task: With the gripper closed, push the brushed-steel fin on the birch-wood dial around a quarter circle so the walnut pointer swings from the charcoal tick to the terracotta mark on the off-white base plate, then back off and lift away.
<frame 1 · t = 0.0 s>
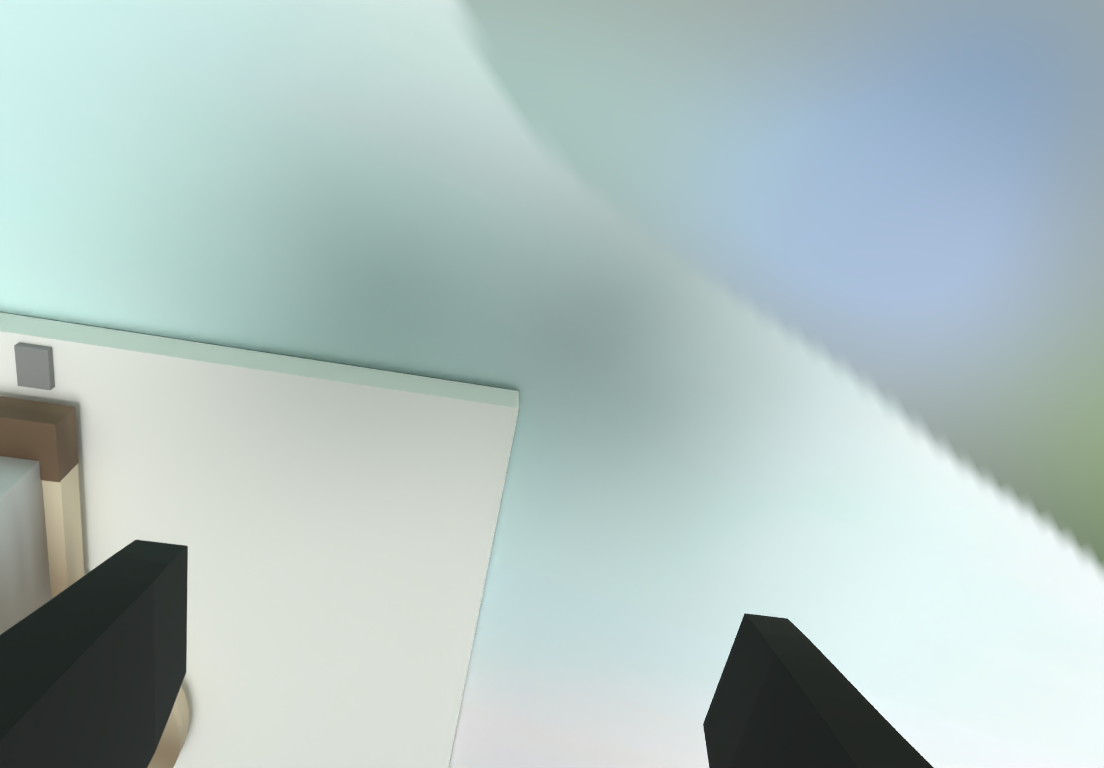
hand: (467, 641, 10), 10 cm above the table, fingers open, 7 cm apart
dial base: (80, 671, 23), on the table
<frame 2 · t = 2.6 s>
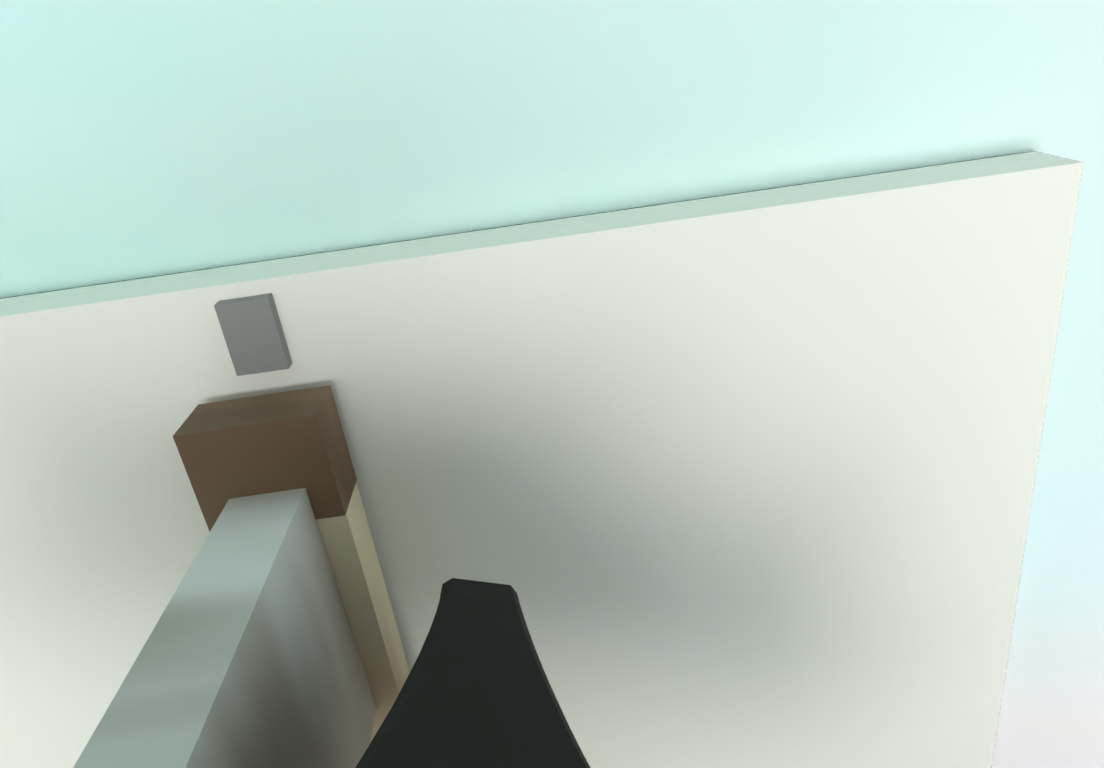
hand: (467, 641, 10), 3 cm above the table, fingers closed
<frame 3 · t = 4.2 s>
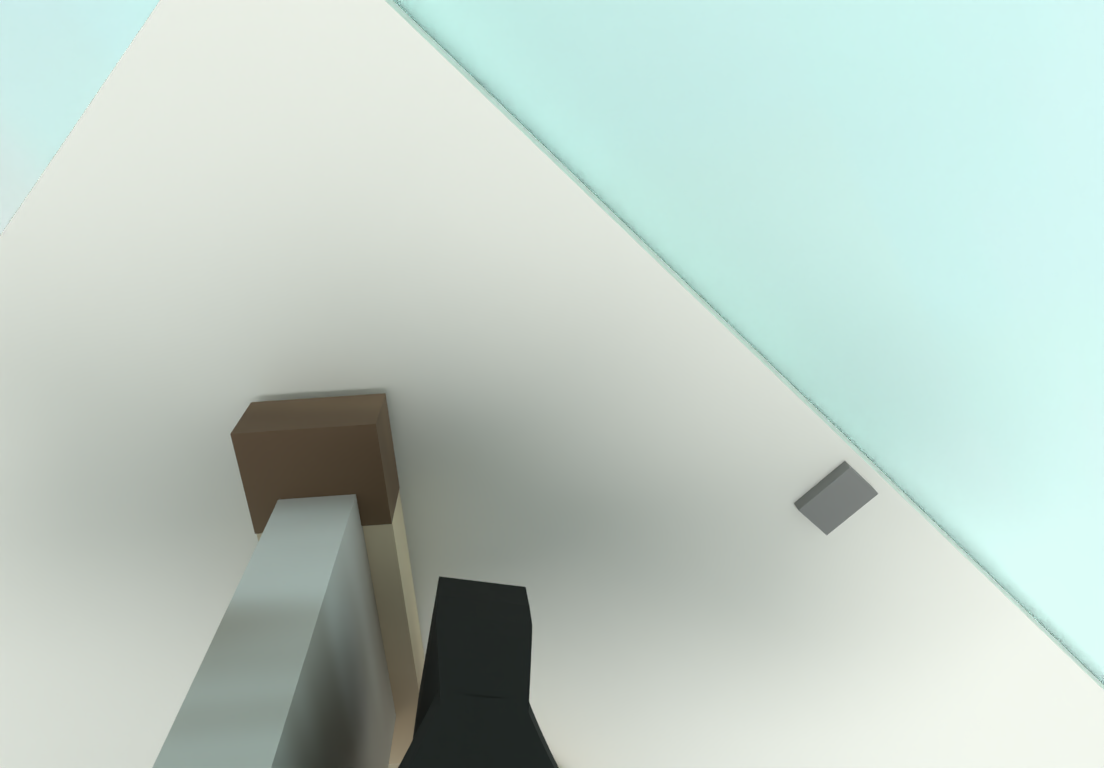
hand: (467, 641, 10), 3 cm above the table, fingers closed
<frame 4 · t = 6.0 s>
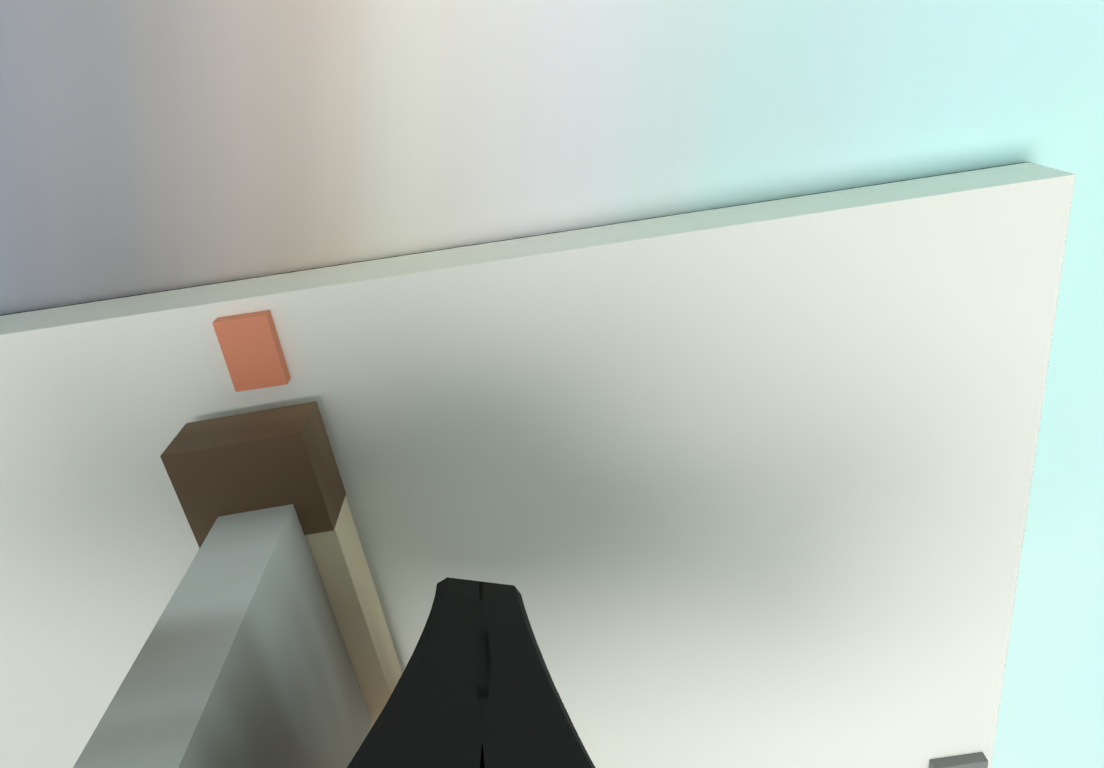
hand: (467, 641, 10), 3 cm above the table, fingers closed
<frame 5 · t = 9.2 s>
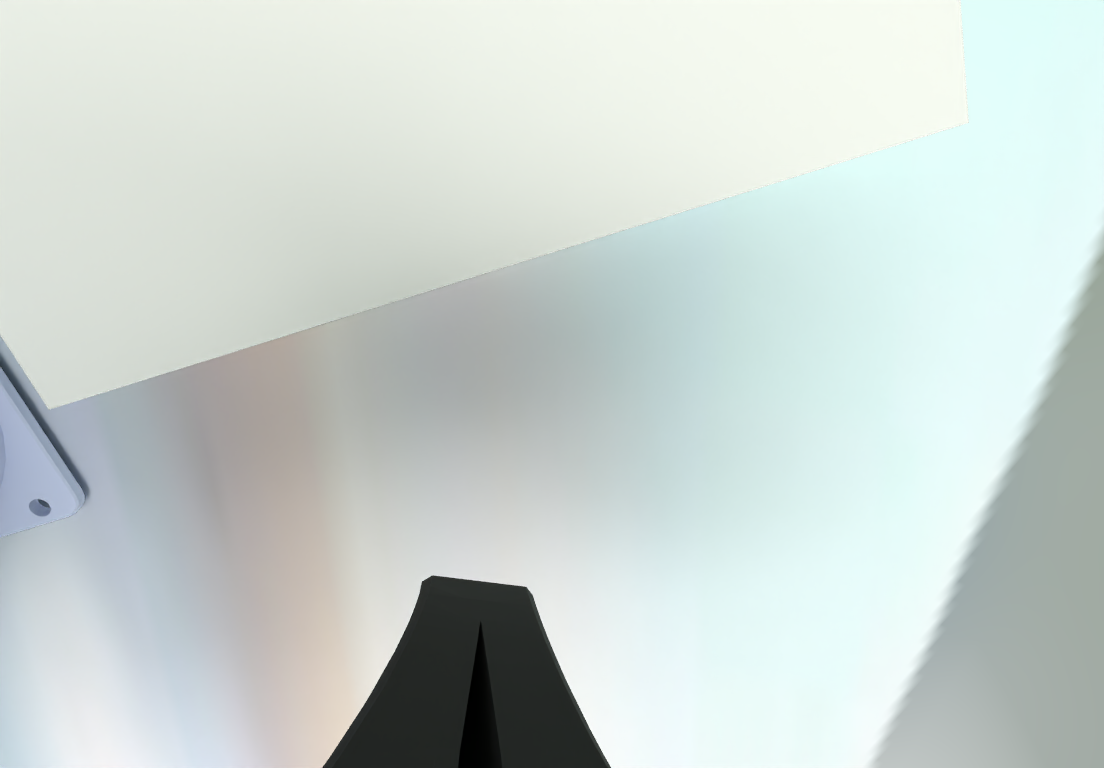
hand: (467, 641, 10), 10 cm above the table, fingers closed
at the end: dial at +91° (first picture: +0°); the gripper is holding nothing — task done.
